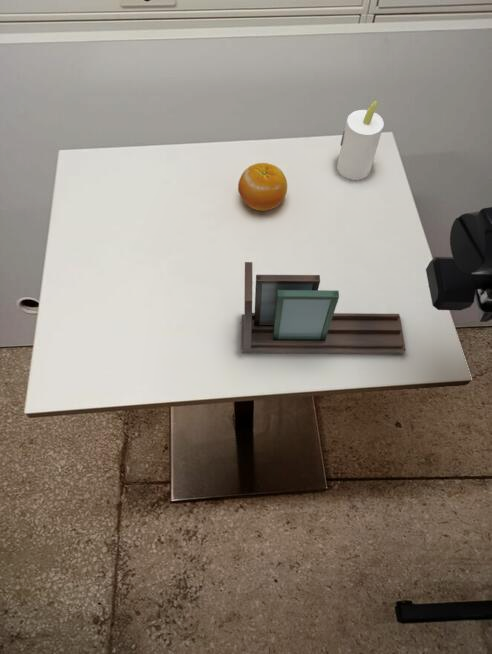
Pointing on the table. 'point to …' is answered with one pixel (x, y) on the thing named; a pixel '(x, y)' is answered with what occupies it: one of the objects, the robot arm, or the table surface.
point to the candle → (359, 143)
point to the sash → (303, 314)
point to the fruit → (262, 186)
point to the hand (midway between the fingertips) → (481, 318)
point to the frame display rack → (343, 333)
